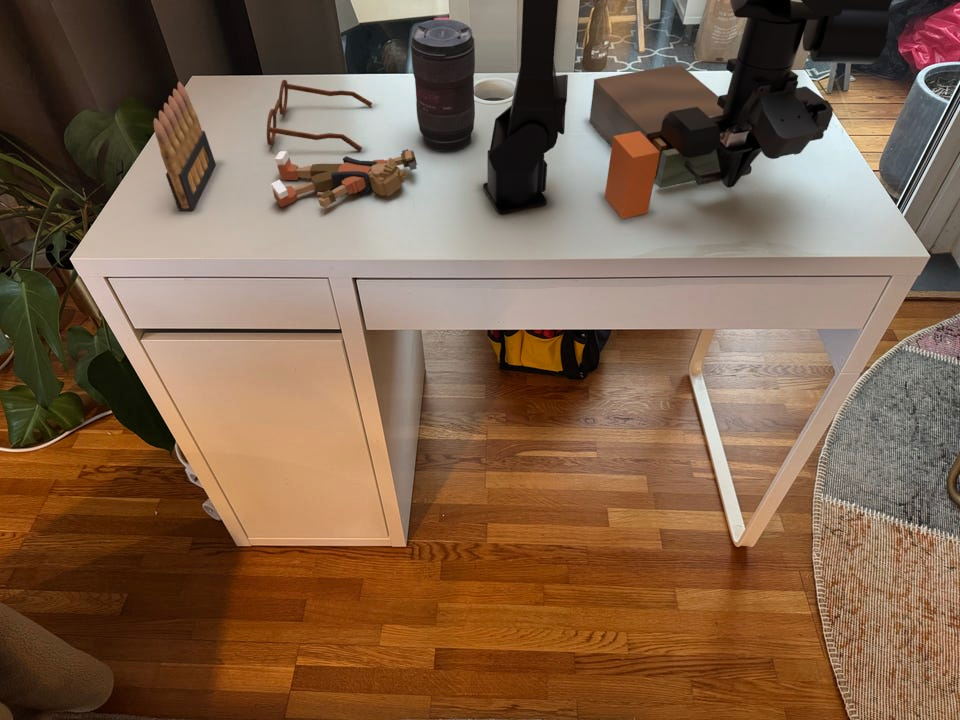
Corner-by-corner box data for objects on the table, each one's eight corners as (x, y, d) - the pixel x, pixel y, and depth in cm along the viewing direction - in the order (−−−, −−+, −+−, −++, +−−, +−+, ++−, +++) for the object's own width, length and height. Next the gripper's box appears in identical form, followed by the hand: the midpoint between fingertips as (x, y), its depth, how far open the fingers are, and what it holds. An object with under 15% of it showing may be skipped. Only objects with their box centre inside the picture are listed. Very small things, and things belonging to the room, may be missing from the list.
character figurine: (286, 137, 94) (417, 131, 90) (298, 169, 97) (424, 165, 94) (255, 188, 86) (397, 184, 83) (269, 222, 89) (405, 219, 86)
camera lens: (417, 156, 96) (408, 46, 85) (419, 125, 102) (410, 18, 91) (476, 154, 97) (475, 44, 85) (475, 124, 102) (473, 17, 91)
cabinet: (728, 159, 95) (740, 115, 90) (639, 178, 92) (647, 133, 88) (671, 106, 105) (679, 63, 100) (589, 121, 102) (594, 79, 97)
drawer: (762, 188, 89) (773, 155, 86) (676, 207, 86) (684, 174, 83) (686, 118, 101) (693, 86, 98) (609, 133, 98) (613, 101, 95)
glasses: (286, 106, 106) (278, 74, 102) (372, 105, 106) (368, 73, 102) (268, 153, 97) (259, 120, 93) (362, 153, 97) (357, 119, 93)
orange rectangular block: (647, 213, 87) (660, 151, 81) (622, 219, 86) (632, 157, 80) (629, 191, 90) (639, 130, 84) (604, 196, 90) (613, 135, 83)
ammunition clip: (202, 164, 96) (173, 78, 87) (216, 164, 96) (188, 78, 87) (178, 211, 88) (144, 122, 80) (193, 211, 88) (160, 122, 79)
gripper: (730, 108, 67) (694, 240, 78) (892, 78, 71) (835, 207, 82) (671, 59, 74) (646, 186, 85) (822, 33, 78) (778, 158, 89)
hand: (727, 185), depth 85 cm, fingers closed, pressing on drawer
